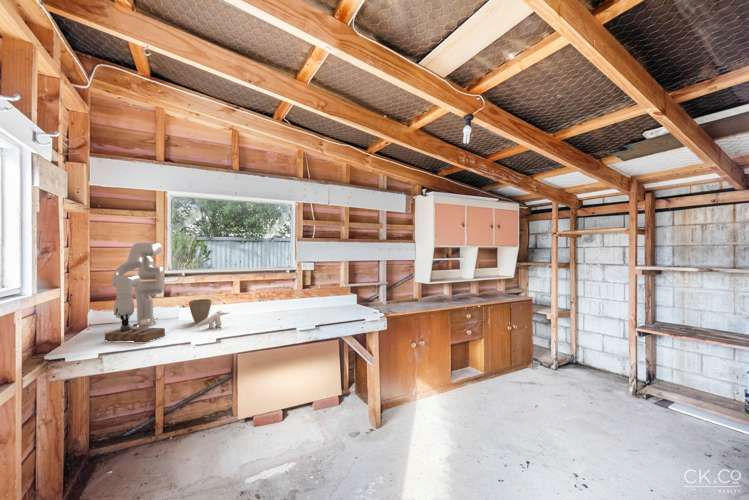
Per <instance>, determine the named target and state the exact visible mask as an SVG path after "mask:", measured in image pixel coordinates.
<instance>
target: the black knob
mask: <svg viewBox="0 0 749 500" xmlns="http://www.w3.org/2000/svg"><path fill="white" fill-rule="evenodd" d="M130 327H131V324H129V325H127V326H122V325H120V329H121V331H122V332H123V331H129V330H130Z"/></svg>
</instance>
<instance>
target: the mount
mask: <svg viewBox="0 0 749 500" xmlns="http://www.w3.org/2000/svg"><path fill="white" fill-rule="evenodd" d="M138 328H139V330H138V331H132V326H130V330H129V331H123V332H122V331H121V328H118V329H116V330H112V331H108V332H105V333H104V341H105V340H107V341H134V342H148V341H150V340H153V339H156V340H158V339H161V338H163V337H165V336H166V328H165V327H148V331H147V332H143V327H138ZM160 337H161V338H160ZM157 338H158V339H157ZM153 341H154V340H153ZM150 342H151V341H150ZM148 343H149V342H148Z"/></svg>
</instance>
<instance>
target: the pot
mask: <svg viewBox="0 0 749 500" xmlns="http://www.w3.org/2000/svg"><path fill="white" fill-rule="evenodd" d="M131 327H132V331H138V330H139V328H138V324H137V323H134V324H133V325H132V326H131Z"/></svg>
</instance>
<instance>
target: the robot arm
mask: <svg viewBox="0 0 749 500" xmlns="http://www.w3.org/2000/svg"><path fill="white" fill-rule="evenodd" d="M162 251H163V246H162V244H161V243H160V242H137V243H134V244H133V245H132V246H131V247H130V252H129V254H128V257H127V260H126V261H125V262H123V264H121V265H120V266H119V267H117V268H116V270H115V271H114V273H113V275H112V280H111V283H112V286H113V287H115V288H116V299H115V301H114V305H113V315H114V316H115V317H116V319H120V320H121V326H127V325H130V324H129V320H130V318H131V316H132V315H134V312H135V302H136V320H137V321H136V324H138V327H141V328H143V326H141V323H140V320H143V319H150V324H149V325H148V327H150V326H154V325H156V324H157V321H156V320H158V319H159V317H158V316H154V301H153V298H152V296H151V295H160V294H162V293H164V291H165V270H164V269H165V268H164V267H162V266H154V259H153V258H152V257H155V256H157V255H160V254H161V253H162ZM136 269H138V271H137V272H138V273H137V274H126V273H128V272H130V271H133V270H136ZM124 274H126V275H124ZM142 280H143V281H142ZM145 280H146V281H145ZM148 280H149V281H148ZM153 280H154V281H153ZM132 287H133V288H134V293H135V298H136V299H135V300H136V301H135V300H134V298H133V295H134V294H133V289H132ZM134 301H135V302H134Z"/></svg>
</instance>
